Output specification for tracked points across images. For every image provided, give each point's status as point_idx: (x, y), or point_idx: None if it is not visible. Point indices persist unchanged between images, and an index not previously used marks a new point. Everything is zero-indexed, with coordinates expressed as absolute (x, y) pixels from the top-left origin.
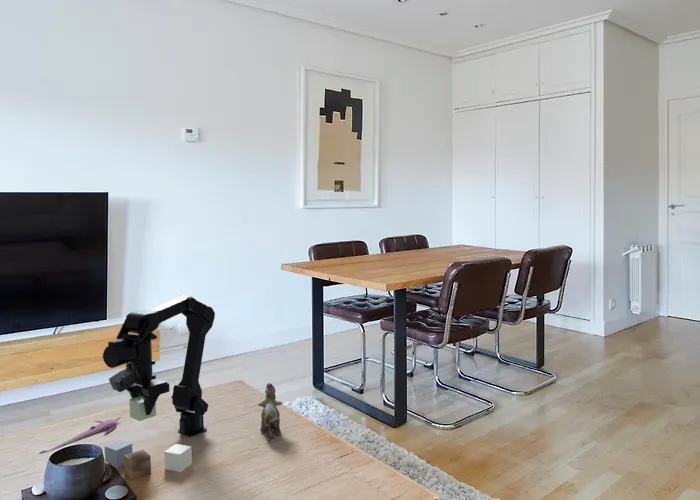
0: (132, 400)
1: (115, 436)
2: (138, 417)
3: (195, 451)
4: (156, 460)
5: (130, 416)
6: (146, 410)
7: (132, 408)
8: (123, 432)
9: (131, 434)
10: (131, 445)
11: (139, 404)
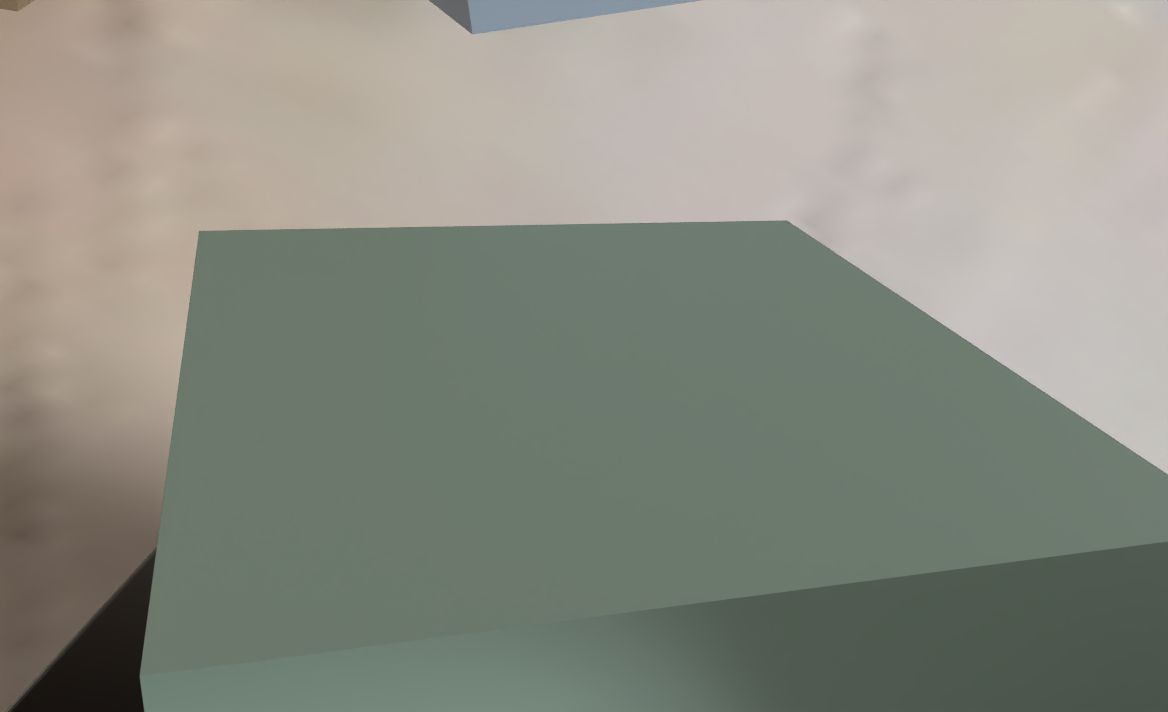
0: (981, 577)
1: (1163, 227)
2: (269, 270)
3: (11, 672)
4: (145, 218)
5: (771, 223)
6: (58, 654)
7: (773, 354)
8: (1156, 334)
9: (1046, 369)
10: (462, 13)
11: (160, 650)
